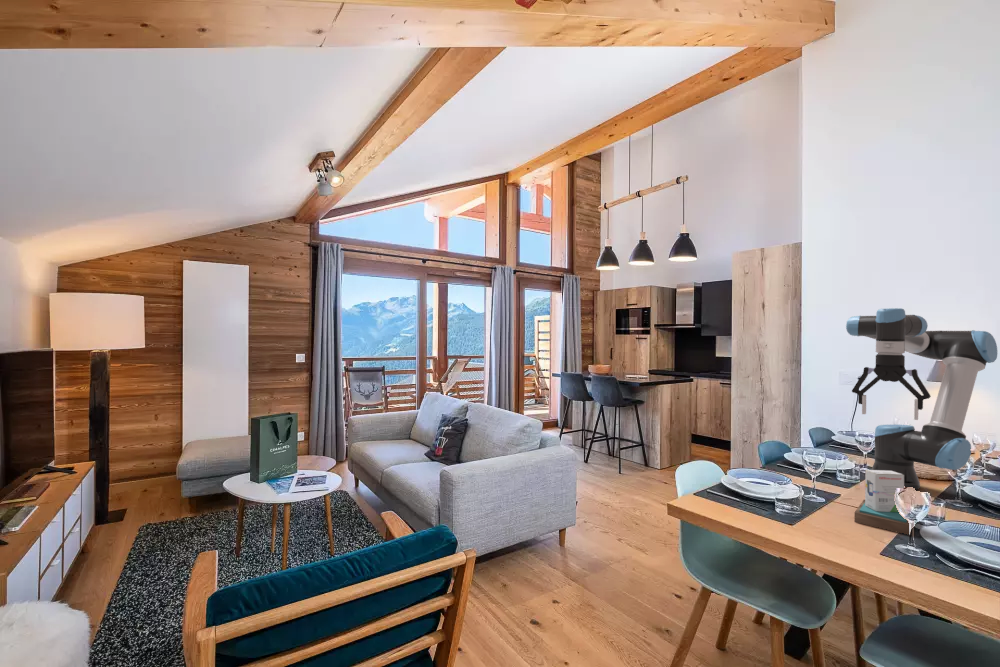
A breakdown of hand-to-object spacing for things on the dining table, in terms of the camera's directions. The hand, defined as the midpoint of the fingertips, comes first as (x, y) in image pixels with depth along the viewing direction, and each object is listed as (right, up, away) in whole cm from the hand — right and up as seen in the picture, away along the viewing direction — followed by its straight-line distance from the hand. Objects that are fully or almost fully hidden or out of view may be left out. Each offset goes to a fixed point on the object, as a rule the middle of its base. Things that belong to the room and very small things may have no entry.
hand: (889, 416), depth 156 cm
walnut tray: (-11, -31, -12) cm, 35 cm away
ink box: (-11, -27, -11) cm, 32 cm away
